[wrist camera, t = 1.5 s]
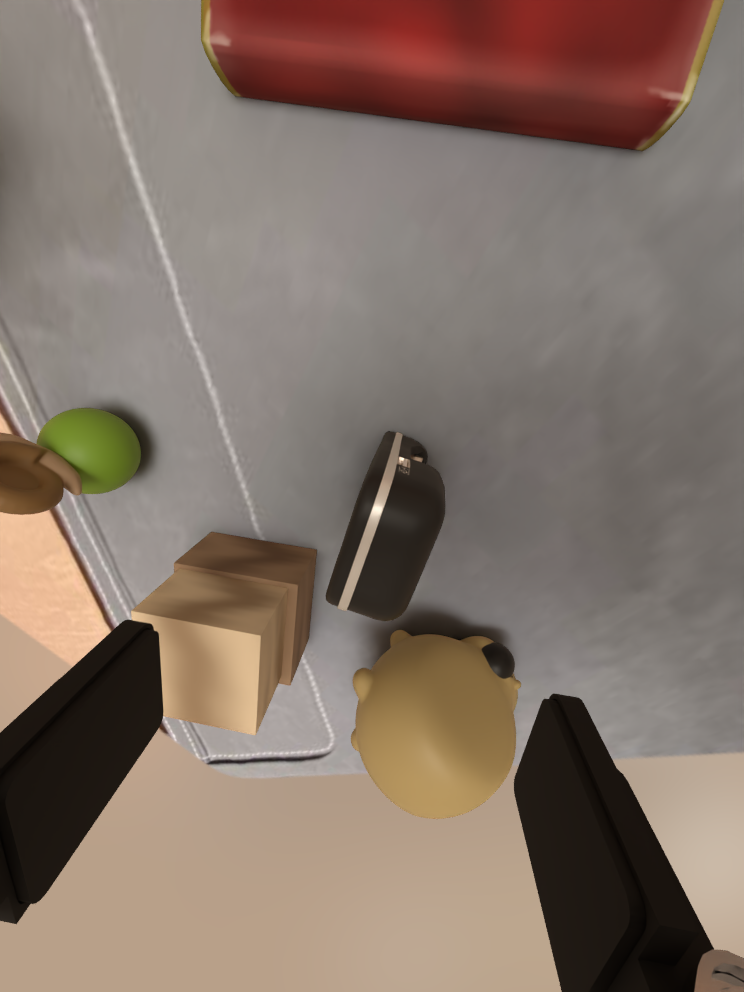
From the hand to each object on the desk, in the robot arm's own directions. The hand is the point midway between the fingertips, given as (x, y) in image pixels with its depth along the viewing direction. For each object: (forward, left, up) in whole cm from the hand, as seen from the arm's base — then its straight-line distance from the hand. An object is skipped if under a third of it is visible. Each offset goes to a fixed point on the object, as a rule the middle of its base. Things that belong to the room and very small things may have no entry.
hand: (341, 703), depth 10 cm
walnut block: (+9, +10, -18) cm, 23 cm away
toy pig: (-5, +14, -19) cm, 24 cm away
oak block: (+9, +10, -13) cm, 19 cm away
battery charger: (0, 0, -18) cm, 18 cm away
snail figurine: (+20, 0, -18) cm, 27 cm away
